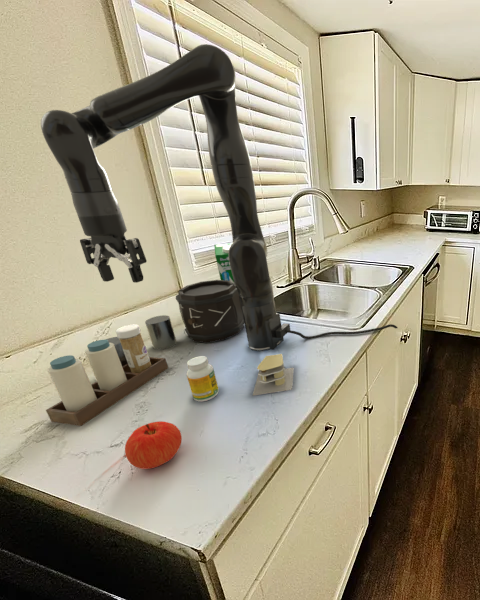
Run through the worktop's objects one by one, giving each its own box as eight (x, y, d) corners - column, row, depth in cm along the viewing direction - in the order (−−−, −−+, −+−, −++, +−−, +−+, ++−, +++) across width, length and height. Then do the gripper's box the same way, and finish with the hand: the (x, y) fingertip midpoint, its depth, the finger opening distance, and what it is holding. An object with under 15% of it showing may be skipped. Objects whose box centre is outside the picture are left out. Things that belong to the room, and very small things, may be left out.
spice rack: (168, 369, 88) (165, 358, 86) (81, 427, 68) (75, 414, 66) (144, 366, 89) (141, 355, 88) (52, 423, 69) (45, 410, 68)
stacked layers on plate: (258, 372, 86) (255, 354, 84) (293, 367, 88) (291, 349, 86) (252, 395, 77) (248, 376, 75) (291, 389, 79) (288, 370, 77)
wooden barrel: (171, 342, 102) (156, 295, 96) (213, 318, 118) (203, 277, 113) (220, 347, 98) (208, 299, 93) (256, 322, 115) (248, 280, 109)
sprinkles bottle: (153, 375, 84) (137, 328, 79) (131, 381, 82) (113, 333, 77) (154, 367, 88) (139, 322, 83) (133, 372, 85) (116, 326, 80)
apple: (120, 478, 56) (105, 442, 53) (153, 442, 64) (141, 409, 61) (166, 477, 56) (153, 442, 53) (194, 442, 64) (183, 409, 61)
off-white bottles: (135, 386, 80) (117, 338, 75) (82, 420, 69) (57, 367, 64) (118, 384, 81) (99, 337, 76) (63, 417, 70) (37, 365, 65)
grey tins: (181, 342, 102) (174, 316, 99) (120, 379, 84) (108, 348, 81) (165, 340, 103) (157, 314, 100) (101, 376, 85) (88, 346, 82)
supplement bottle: (194, 391, 79) (184, 357, 75) (219, 385, 81) (211, 352, 77) (192, 405, 74) (181, 369, 71) (219, 398, 76) (209, 363, 73)
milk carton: (228, 314, 122) (213, 248, 113) (227, 306, 129) (214, 244, 120) (254, 310, 126) (242, 246, 117) (252, 302, 133) (240, 241, 124)
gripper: (141, 211, 76) (161, 277, 82) (90, 211, 78) (114, 275, 84) (109, 215, 69) (134, 287, 75) (55, 215, 71) (83, 285, 77)
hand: (123, 281), depth 79 cm, fingers open, 8 cm apart
